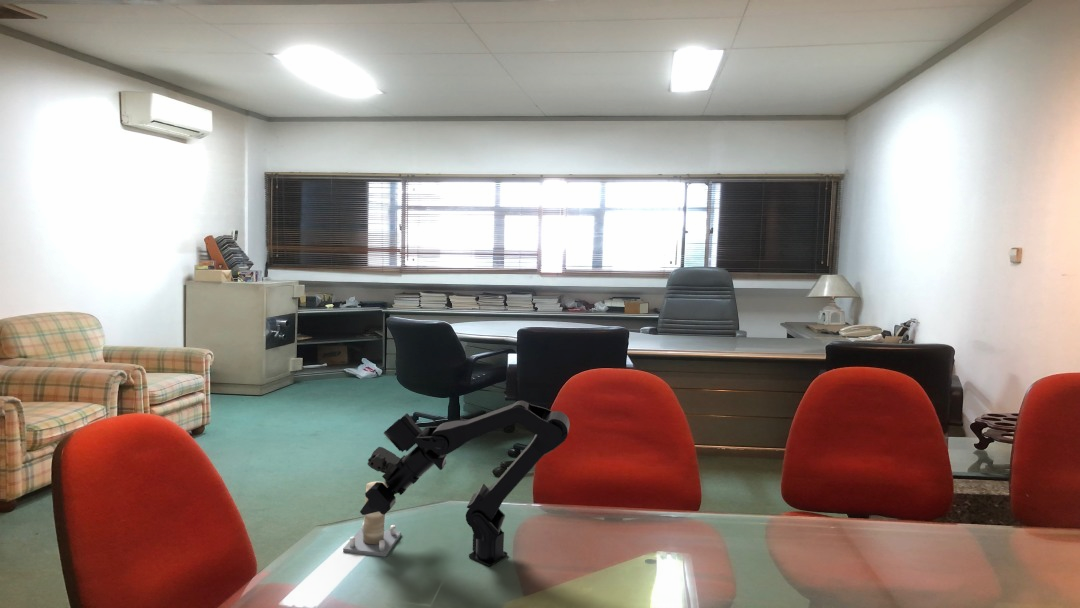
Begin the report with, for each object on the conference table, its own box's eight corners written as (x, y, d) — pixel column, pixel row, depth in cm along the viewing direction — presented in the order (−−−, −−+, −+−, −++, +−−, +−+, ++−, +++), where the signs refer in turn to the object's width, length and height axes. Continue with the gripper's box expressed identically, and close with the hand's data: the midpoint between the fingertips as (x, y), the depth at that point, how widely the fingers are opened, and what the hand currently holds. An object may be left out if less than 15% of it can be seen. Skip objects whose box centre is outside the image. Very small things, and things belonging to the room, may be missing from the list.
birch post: (386, 541, 146) (389, 487, 145) (366, 545, 143) (370, 490, 142) (379, 533, 150) (382, 480, 148) (360, 537, 147) (363, 483, 146)
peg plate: (401, 535, 151) (401, 524, 150) (385, 556, 141) (385, 545, 141) (361, 530, 152) (361, 519, 152) (343, 551, 142) (343, 540, 142)
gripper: (404, 425, 152) (360, 465, 155) (374, 453, 133) (325, 498, 136) (435, 460, 152) (391, 499, 155) (409, 492, 134) (359, 536, 136)
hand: (367, 506), depth 145 cm, fingers open, 7 cm apart
